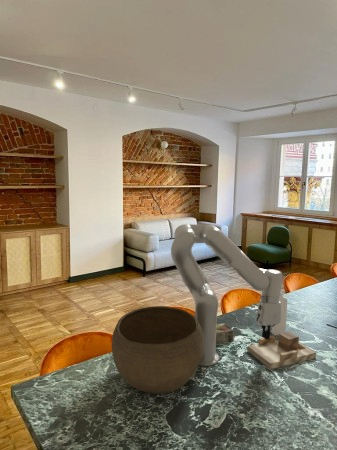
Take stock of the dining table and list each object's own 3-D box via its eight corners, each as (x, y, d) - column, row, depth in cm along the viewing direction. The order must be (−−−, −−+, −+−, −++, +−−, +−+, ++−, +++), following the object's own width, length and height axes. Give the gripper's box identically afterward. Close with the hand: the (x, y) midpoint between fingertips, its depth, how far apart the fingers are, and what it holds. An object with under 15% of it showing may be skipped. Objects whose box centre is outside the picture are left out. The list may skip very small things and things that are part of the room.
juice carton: (226, 332, 174) (226, 320, 173) (235, 340, 165) (236, 329, 164) (190, 338, 167) (190, 326, 166) (198, 347, 158) (198, 335, 157)
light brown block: (288, 352, 149) (289, 339, 148) (278, 346, 154) (279, 333, 153) (297, 349, 152) (298, 336, 151) (287, 343, 157) (288, 331, 156)
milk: (274, 336, 170) (276, 294, 166) (268, 330, 176) (270, 290, 172) (285, 334, 171) (288, 293, 168) (279, 329, 177) (281, 289, 174)
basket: (215, 370, 139) (219, 315, 133) (173, 429, 109) (175, 362, 104) (145, 343, 156) (145, 294, 151) (92, 388, 127) (90, 329, 121)
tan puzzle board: (270, 369, 140) (270, 357, 139) (247, 350, 155) (248, 340, 154) (316, 357, 149) (316, 347, 149) (290, 341, 164) (291, 331, 163)
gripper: (261, 302, 139) (256, 344, 142) (290, 300, 145) (284, 340, 147) (250, 296, 146) (246, 335, 148) (278, 294, 152) (273, 332, 154)
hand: (265, 337), depth 148 cm, fingers closed
